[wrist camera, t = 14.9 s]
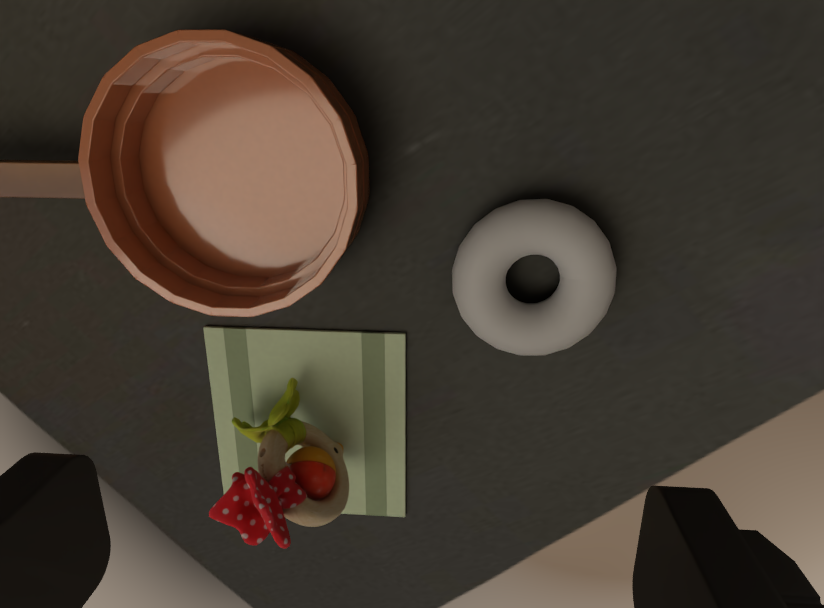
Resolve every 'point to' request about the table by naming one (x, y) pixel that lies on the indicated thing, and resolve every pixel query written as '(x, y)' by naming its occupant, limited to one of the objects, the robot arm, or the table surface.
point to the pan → (223, 171)
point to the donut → (534, 235)
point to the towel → (317, 401)
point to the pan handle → (40, 179)
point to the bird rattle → (285, 477)
